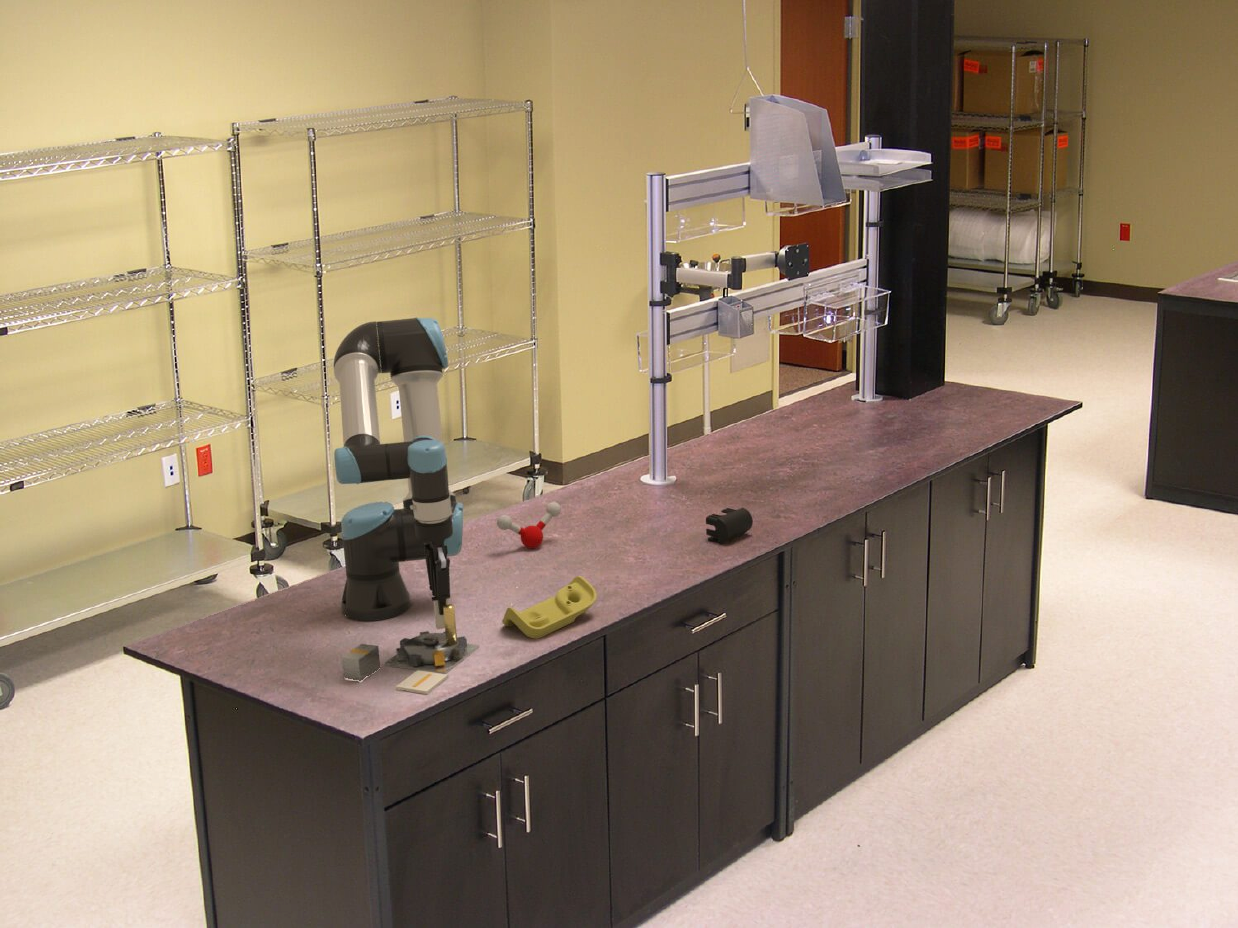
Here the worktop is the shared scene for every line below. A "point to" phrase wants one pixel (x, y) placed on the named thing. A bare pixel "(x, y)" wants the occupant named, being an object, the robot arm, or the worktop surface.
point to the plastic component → (553, 610)
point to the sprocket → (434, 644)
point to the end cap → (728, 524)
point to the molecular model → (530, 534)
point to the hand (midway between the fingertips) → (443, 626)
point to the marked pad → (422, 682)
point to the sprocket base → (431, 667)
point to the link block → (361, 662)
